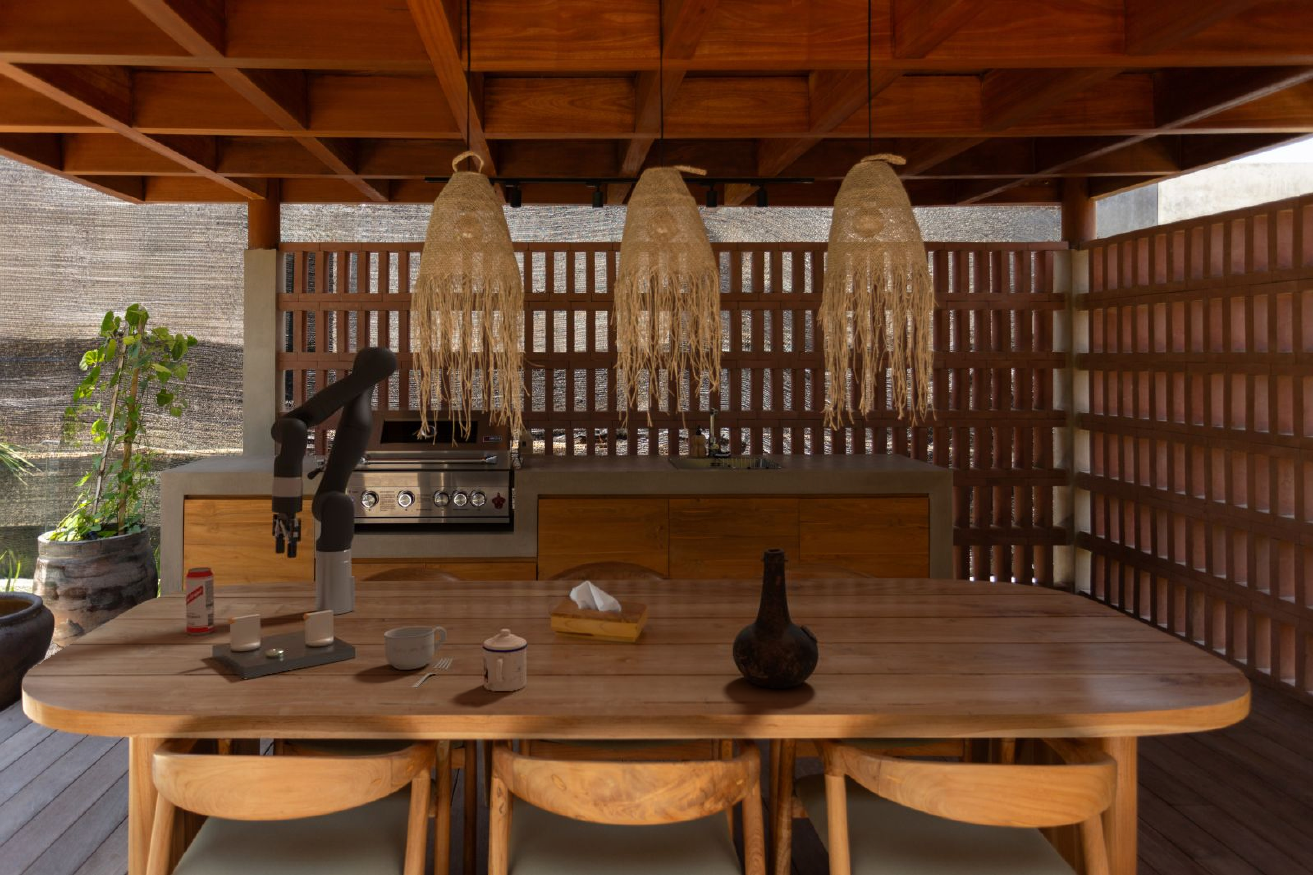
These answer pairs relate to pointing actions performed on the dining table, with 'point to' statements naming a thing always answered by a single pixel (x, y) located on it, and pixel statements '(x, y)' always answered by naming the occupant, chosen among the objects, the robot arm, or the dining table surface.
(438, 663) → the fork
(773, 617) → the glass bottle
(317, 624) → the knob
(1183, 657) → the dining table surface
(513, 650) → the teacup with lid
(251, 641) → the knob
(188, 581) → the beer can
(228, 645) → the levelling base
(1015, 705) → the dining table surface
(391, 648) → the teacup
